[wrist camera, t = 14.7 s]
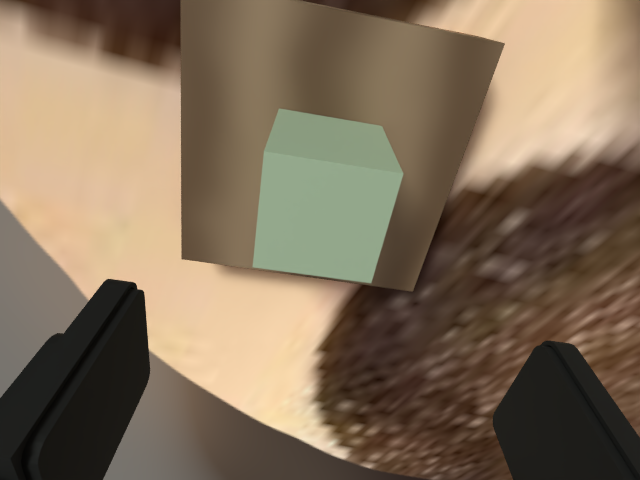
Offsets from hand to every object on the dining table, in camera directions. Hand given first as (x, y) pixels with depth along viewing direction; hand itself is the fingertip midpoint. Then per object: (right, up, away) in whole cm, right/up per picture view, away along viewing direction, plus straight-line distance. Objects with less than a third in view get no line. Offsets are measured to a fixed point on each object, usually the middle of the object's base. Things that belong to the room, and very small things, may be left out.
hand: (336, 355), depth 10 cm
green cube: (0, +7, +11) cm, 13 cm away
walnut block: (0, +9, +14) cm, 17 cm away
